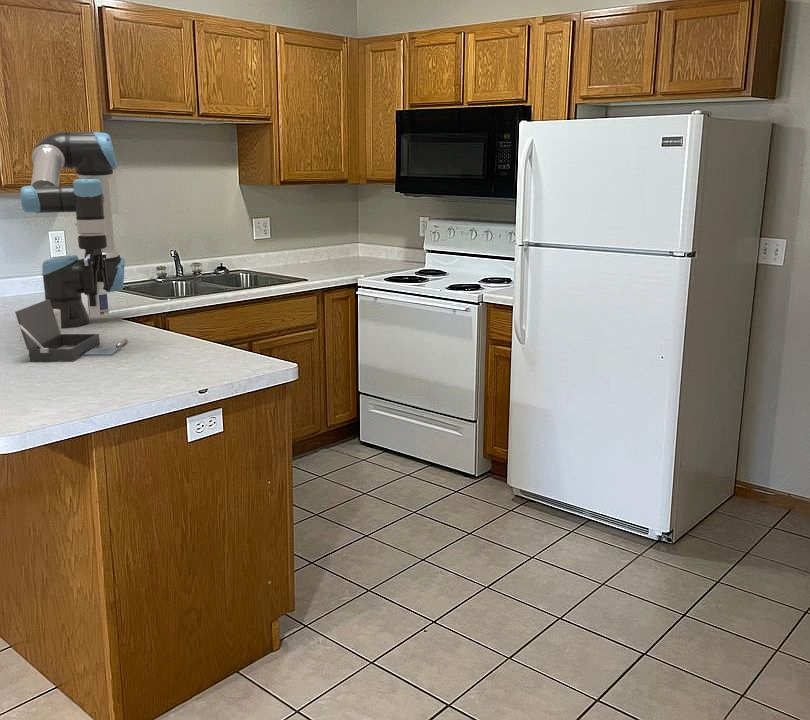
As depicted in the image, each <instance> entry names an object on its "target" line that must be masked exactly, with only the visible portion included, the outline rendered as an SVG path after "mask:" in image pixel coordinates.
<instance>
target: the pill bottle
mask: <svg viewBox="0 0 810 720" xmlns="http://www.w3.org/2000/svg"><path fill="white" fill-rule="evenodd" d="M103 287H104V283H103V282H97V294H99V304H100V315H101V317H100V318H104V317H109V315H110V313H109V312H110V311H109V302H108V292H107V291H106V290H104V289H103ZM86 296H87V297H86V298H87V305H88V306H87V307H88V308H87V309H88V316H89V317H90V309H89V298H88V295H86Z"/></svg>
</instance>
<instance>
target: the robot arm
mask: <svg viewBox="0 0 810 720" xmlns="http://www.w3.org/2000/svg"><path fill="white" fill-rule="evenodd" d="M113 146H114V145H113V141H112V137H111V135H110V134H108V133H106V132H98V131H58V132H57V131H56V132H54V133H51V134H49V135H46V136H44V137H43V138H42V139H41V140H39V141H38V142H37V143H36V144H35V146H34V148H33V150H32V153H31V161H32V164H33V169H32V170H33V171H32V175H31V176H32V177H31V182H30V185H25V186H21V188H20V200H21V201H20V202H21V207H22V210H23V211H24V212H25V213H33V214H34V213H36V214H40V213H41V214H43V213H44V214H45V213H46V214H48V213H75V215H76V217H75V218H76V223H74V224H75V226H76V228H77V234H78V237H77V240H78V241H77V242H78V248H79V249H80V250H84V251H85V253H84V254H83V257H84V258H81V259H79V257H78V255H75V254H74V255H73V254H72V255H65V256H58V257H54V258H49V259H46V260H44V261H43V262H42V265H41V267H42V274H41V276H42V281H43V289H44V291H43V292H44V301H45V300H48V299H50V302H51V305H52V308H53V309H59V310H60V312H61V329H64V328H74V327H80V326H85V325H87V324H89V323H90V318H102V317H101V315H100V304H99V294H97V282H103V283H104V287H103V289H104V290H106V291H107V293H112V292H113V293H114V292H120V291H122V290H123V288H124V280H125V265H126V264H125V261H126V259H125V258H124V257H121V253H120V252H119V251H118V250H117V249H116V247H115V237H114V236H115V235H114V224H113V215H112V214H113V213H112V203H111V202H112V201H111V191H110V178H111V177H112V176H113V175H114V172H113V171H114V170H115V169H117V167H118V165H117V160H116V155H115V149H114V147H113ZM62 169H70V170H71V169H75V175H76V176H77V177H78V178H76V179H74V180H73V181H72V183H73V185H60V179H61V170H62ZM82 294H84V295H85V296H87V295H88V298H89V308H88V310H89V309H90V316H89V313H88V312H87V310H86V307H85V305H84V303H83V299H82ZM88 298H87V299H88Z"/></svg>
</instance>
